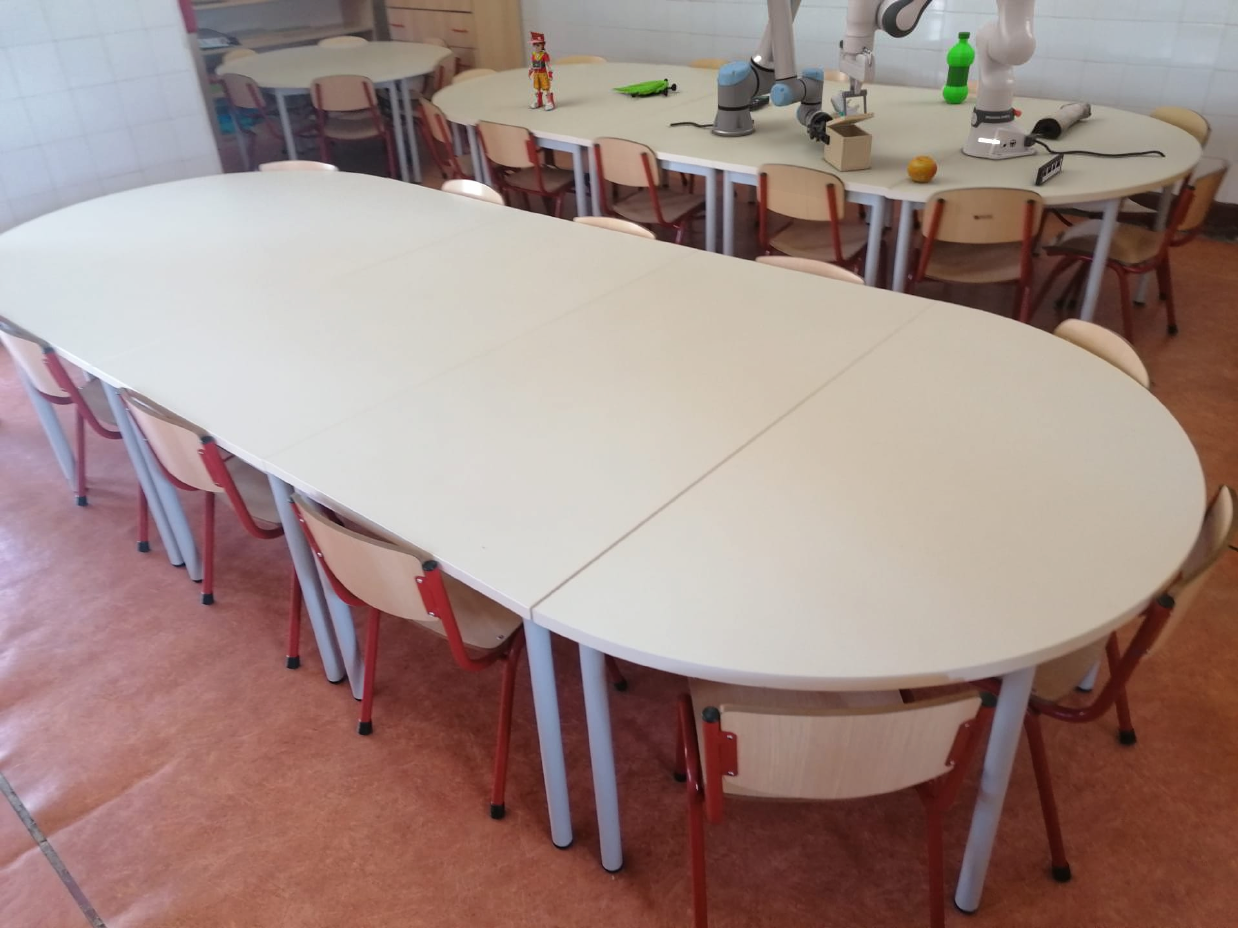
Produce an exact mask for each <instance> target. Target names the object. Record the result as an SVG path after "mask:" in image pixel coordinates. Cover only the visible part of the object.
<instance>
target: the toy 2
mask: <svg viewBox="0 0 1238 928" xmlns="http://www.w3.org/2000/svg"><path fill="white" fill-rule="evenodd" d="M669 85H670V83H669V79H668V78H664V79H663V80H649V81H644V82H640V83H634V84H629V85H627V86H621V87H613V88H612V89H613V90H616V91H619V92H623V93H627V94H628V93H629V94H631V95H630V96H631V98H632V99H634V98H636V96H637V95H650V94H652V93H654V94H658V93H662V95H663V96H665V97H667V96H668V95H669V90H671V91H672V92H676V91H677V84H676V83H672V84H671V86H669Z"/></svg>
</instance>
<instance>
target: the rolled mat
mask: <svg viewBox="0 0 1238 928" xmlns="http://www.w3.org/2000/svg"><path fill="white" fill-rule="evenodd" d="M1091 116H1092V105H1091V104H1090V103H1089V102H1082V101H1080V102H1079V101H1078V102H1073V103H1072V102H1071V103H1065V104H1063V105H1061V106H1060V108H1059V109H1058V110H1056V111H1053V112H1052V113H1050V114H1048V115H1046V116H1044V117H1042V118H1040V119H1039V120H1037V121H1036V123H1035V125H1034V126H1033V128H1032V130H1031V132H1030V133H1029V135H1030V134H1037V135H1041V136H1042V137H1043V138H1046V139H1051V140H1055V139H1056V140H1057V139H1058V138H1059V137H1060V136H1061V135H1063V134H1064V133H1065V132H1066V131H1067V129H1068V128H1070V127H1071V126H1073V124H1075V123H1076V122H1077V121H1079V120H1084V119H1085V120H1086V119H1087V118H1090V117H1091Z"/></svg>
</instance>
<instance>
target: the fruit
mask: <svg viewBox="0 0 1238 928" xmlns="http://www.w3.org/2000/svg"><path fill="white" fill-rule="evenodd" d="M937 172H938V164H937V163H936V161H935V160H934V159H933V158H932V157H929V156H926V155H925V156H922V155H921V156H917V157H915V158H912V160H911V161H910V162H909V163H908V167H907V175H908V177H909V178H910V179H911V180H913V181H914V182H919V183H920V182H921V183H924V182H930V180H932V179H933V178H934V177H935V176H936V175H937Z"/></svg>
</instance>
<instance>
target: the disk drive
mask: <svg viewBox="0 0 1238 928" xmlns="http://www.w3.org/2000/svg"><path fill="white" fill-rule="evenodd" d="M770 101H771V98H770V95H761V96H757V97H753V98H749V111H756V110H758V109H760V108H761V107H763V106H765V105H768V104H769V103H770Z"/></svg>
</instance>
